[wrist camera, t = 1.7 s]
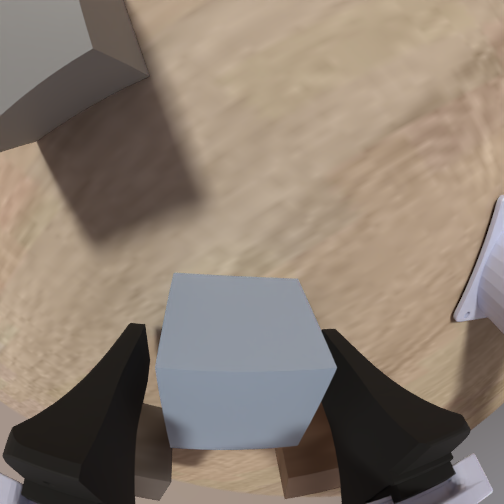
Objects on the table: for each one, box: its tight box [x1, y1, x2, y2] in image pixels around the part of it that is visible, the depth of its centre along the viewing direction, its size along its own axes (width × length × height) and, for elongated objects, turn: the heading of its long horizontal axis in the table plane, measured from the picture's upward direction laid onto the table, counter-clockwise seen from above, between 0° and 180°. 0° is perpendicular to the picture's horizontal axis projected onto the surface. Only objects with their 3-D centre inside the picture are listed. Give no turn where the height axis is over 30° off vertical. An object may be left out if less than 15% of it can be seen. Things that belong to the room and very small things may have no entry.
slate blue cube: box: [155, 273, 337, 450], centre depth 11 cm, size 5×5×5 cm
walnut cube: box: [275, 403, 341, 499], centre depth 16 cm, size 5×5×5 cm
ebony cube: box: [135, 403, 172, 501], centre depth 14 cm, size 5×5×5 cm
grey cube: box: [0, 0, 150, 152], centre depth 5 cm, size 5×5×5 cm
